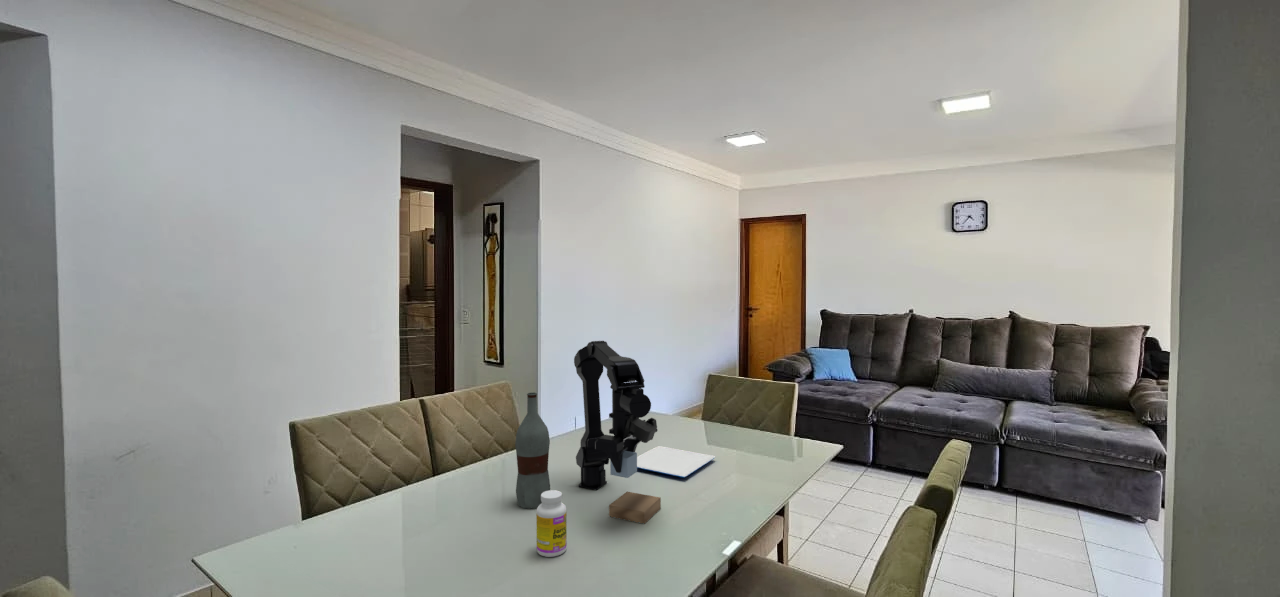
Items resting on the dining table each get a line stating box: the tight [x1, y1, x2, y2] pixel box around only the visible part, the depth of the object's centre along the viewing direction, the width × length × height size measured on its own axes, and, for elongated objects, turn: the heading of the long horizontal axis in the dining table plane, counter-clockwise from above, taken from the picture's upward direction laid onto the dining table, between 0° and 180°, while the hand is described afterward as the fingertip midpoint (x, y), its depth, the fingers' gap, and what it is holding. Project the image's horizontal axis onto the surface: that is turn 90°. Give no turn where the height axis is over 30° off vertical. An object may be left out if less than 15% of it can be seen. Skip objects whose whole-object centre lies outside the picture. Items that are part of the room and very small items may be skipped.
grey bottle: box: [514, 391, 551, 509], centre depth 149 cm, size 9×9×30 cm
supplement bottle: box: [535, 489, 568, 558], centre depth 123 cm, size 7×7×13 cm
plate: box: [637, 445, 716, 478], centre depth 180 cm, size 22×22×2 cm
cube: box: [609, 451, 638, 479], centre depth 141 cm, size 5×5×5 cm
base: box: [608, 491, 662, 525], centre depth 143 cm, size 10×10×3 cm
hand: (623, 469), depth 141 cm, fingers closed on cube, 5 cm apart
